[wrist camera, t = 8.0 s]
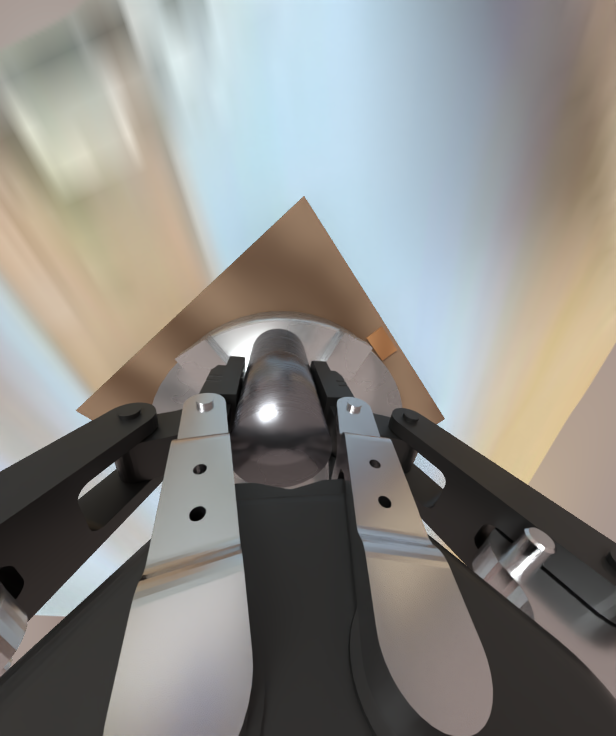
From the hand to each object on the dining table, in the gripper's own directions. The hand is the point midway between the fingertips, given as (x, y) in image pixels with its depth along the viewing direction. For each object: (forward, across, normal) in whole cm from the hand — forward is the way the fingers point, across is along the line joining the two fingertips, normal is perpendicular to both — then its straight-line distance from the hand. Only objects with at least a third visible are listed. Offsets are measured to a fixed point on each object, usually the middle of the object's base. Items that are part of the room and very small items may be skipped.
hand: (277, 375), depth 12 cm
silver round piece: (+5, -1, +7) cm, 9 cm away
